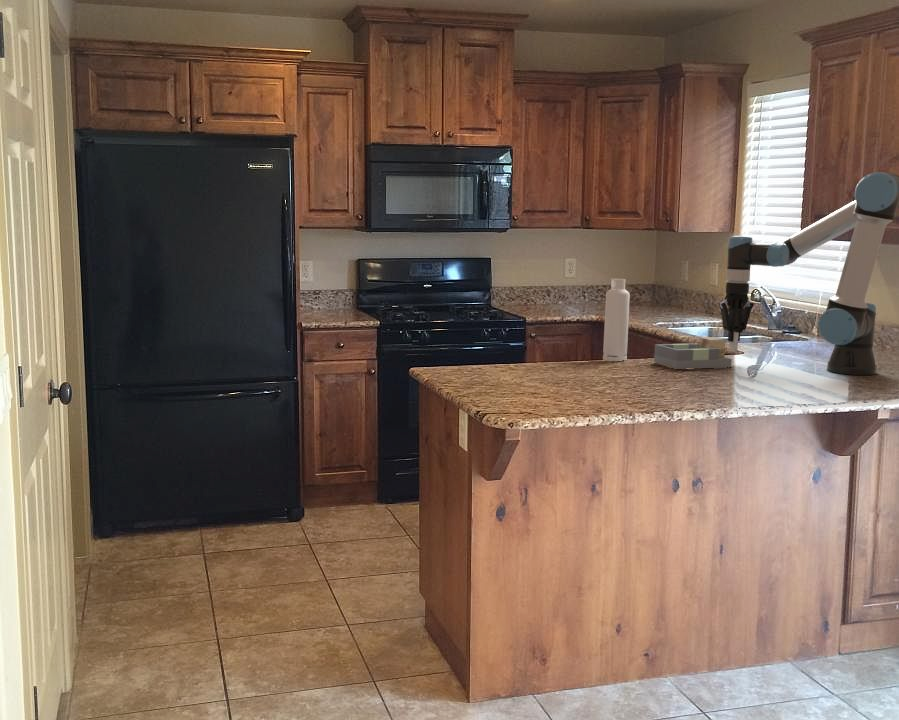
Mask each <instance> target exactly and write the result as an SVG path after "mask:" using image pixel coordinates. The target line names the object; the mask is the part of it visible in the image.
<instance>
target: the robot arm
mask: <svg viewBox="0 0 899 720" xmlns="http://www.w3.org/2000/svg"><path fill="white" fill-rule="evenodd" d="M854 198H855V200H854V201H853V200H852V201H851V202H849V203H848V204H846V205H844V206H843V207H841V208H839V209H837V210H835V211H834V212H831V213H830V214H829V215H827V216H825V217H823V218H821V219H819V220H817V221H816V222H814V223H812V224H810V225H809V226H807V227H805V228H803V229H802V230H800V231H797V233H795V234H793V235H791V236H790V237H788V238H786V239H784V240H782V241H780V242H754V241H753V237H752V236H749V235H748V236H747V235H732V236H731V237H730V238H729V239H728V248H727V266H726V267H727V268H726V281H727V282H726V283H725V294H726V295H725V297H724V300H722V301H721V302H718V304H717V305H718V307H719V308H720V314H721V322H722V328H723V330H724V331H726V332H727V333H728V334H727V341H728V342H729V343H728V345H729V346H728V352H732V353H733V352H735V353H736V352H738V348H739V347H738V346H739V342H740V341H741V333H743V331H746V329H747V326H748V322H749V320H750V319H749V318H750V316H751V311H752V309H753V307H754V306H755V303H754V302H751V301H750V300H749V296H748V294H749V292H750V283H749V282H750V280H751V279H750V278H751V266H764V267H776V268H777V267H784V266H789V265H790V264H793V263H795V262H796V261H797V259H799V258H801V257H803V256H804V255H805V254H808V253H810V252H811V251H813V250H815V249H817V248H818V247H821V246H823V245H824V244H827V243H828V242H830V241H831V240H834V239H835V238H838V237H839V236H841V235H843V234H844V233H847V232H849V231H850V230H853V232H852V235H851V239H850V242H849V247H848V250H847V254H846V257H845V260H844V265H843V269H842V270H841V271H842V272H841V275H840V279H839V282H838V284H837V285H838V286H837V289H836V293H835V294H834V295H832V296H831V297H830V296H829V299H828V302H827V306H826V309H825V311H824V312H822V314H821V315H820V317H819V319H818V321H817V323H818V324H817V327H818V328H817V329H818V332H819V334H820V335H821V337H822V338H823V340H825V341H826V342H827V343H829V344H832V345H834V347H833V349H832V352H831V354H830V358H829V361H828V362H827V365H826V370H827V371H828V372H831V373H835V374H844V375H850V376H852V375H854V376H855V375H856V376H871V375H876V374H877V369H878V368H877V364H876V359H875V355H874V351H873V347H874V336H875V335H874V334H875V324H876V316H877V311H876V310H877V309H876V305H875V304H874V303H870V302H866V301H865V300H866V296H867V292H868V290H869V285H870V282H871V279H872V275H873V273H874V269H875V265H876V261H877V258H878V255H879V251H880V249H881V248H880V247H881V244H882V242H883V237H884V234H885V231H886V227H887V225H888V224H891V223H892V222H893V221H894V219H895V215H896V212H897V210H898V209H899V175H898V174H894V173H887V172H884V171H883V172H880V171H878V172H877V171H876V172H871V173H870V174H867V175H866V176H864V177H862V179H860V180H859V182H858V183H857V185H856V187H855V190H854Z"/></svg>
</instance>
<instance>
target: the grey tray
mask: <svg viewBox="0 0 899 720" xmlns="http://www.w3.org/2000/svg"><path fill="white" fill-rule="evenodd" d="M699 348H700V343H696V342H693V343H692V342H691V343H671V344H670V343H663V344H662V343H661V344H660V343H657V344H654V354H653V363H654V362H656V363H659V364H662V365H665V366H668V367H671V368H674V369H673V370H675V369H686V368H714V369H730V368H729V367H731V368H732V358H729V357H719V349H718V348H703V349H699ZM668 367H667V368H668ZM727 367H728V368H727ZM671 368H670V369H671Z"/></svg>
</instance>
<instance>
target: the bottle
mask: <svg viewBox="0 0 899 720" xmlns="http://www.w3.org/2000/svg"><path fill="white" fill-rule="evenodd" d="M610 281H611V282H610V283H611V284H610V288H609V289H608V290H607V291H606V293H605V302H604V303H605V307H604V309H605V310H604V329H603V332H604V333H603V346H602V347H603V349H602V350H603V351H602V352H603V353H602V361H605V362H612V361H622V360H627V359H628V357H627V353H628V339H629V337H628V335H629V318H630V317H629V316H630V299H631V295H630V292H629V291H628V290H627V289H626V281H627V280H626V278H611V280H610ZM627 361H628V360H627Z"/></svg>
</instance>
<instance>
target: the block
mask: <svg viewBox="0 0 899 720" xmlns="http://www.w3.org/2000/svg"><path fill="white" fill-rule="evenodd" d="M726 341H727V340H726V338H725V339H724V338H720V337H712V336H711V337H710V336H709V337H700V338H699V349H703V348H718V349H719V357H725V356H726V355H725V354H726V353H725V352H726Z"/></svg>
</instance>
